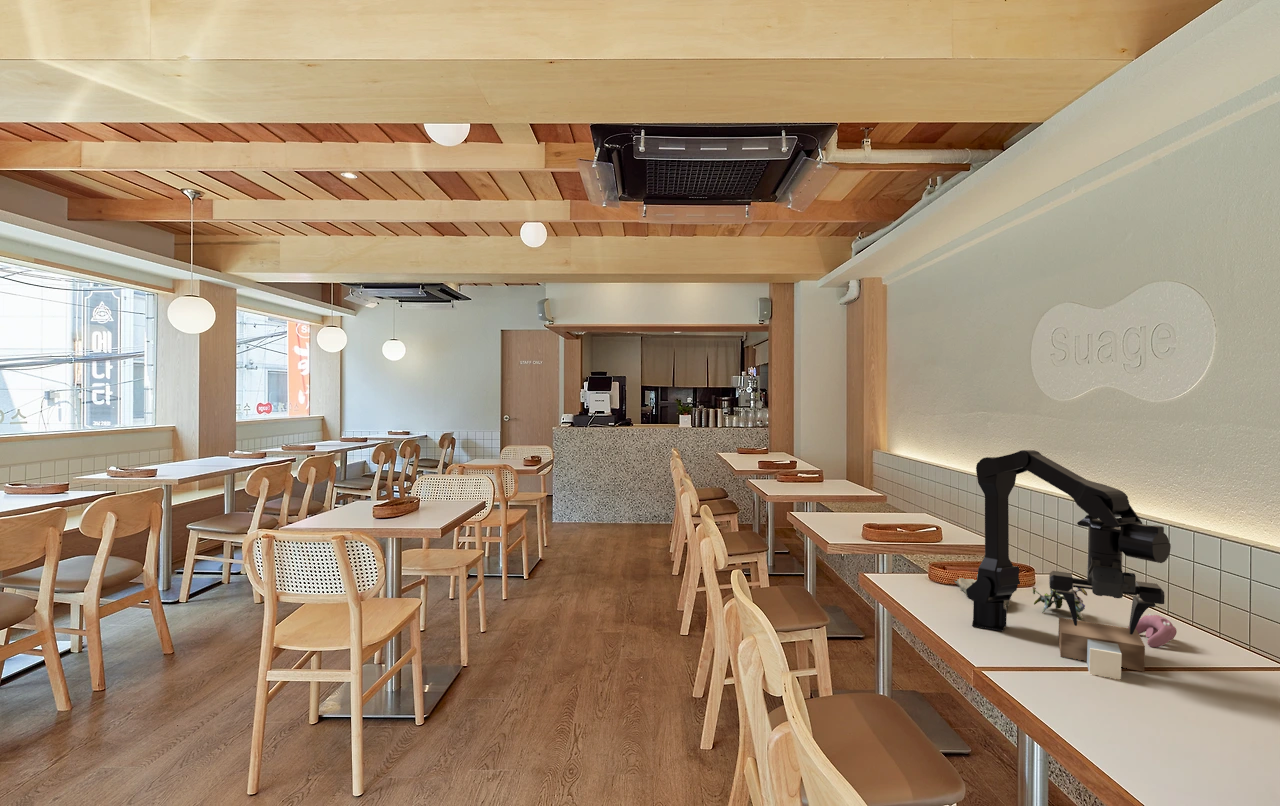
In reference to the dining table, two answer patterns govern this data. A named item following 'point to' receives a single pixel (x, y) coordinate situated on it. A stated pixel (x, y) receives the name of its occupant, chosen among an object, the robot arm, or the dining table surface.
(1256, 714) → the dining table surface
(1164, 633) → the pink creature figurine
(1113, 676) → the grey block
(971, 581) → the elongated rock
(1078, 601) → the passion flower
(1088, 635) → the walnut step
